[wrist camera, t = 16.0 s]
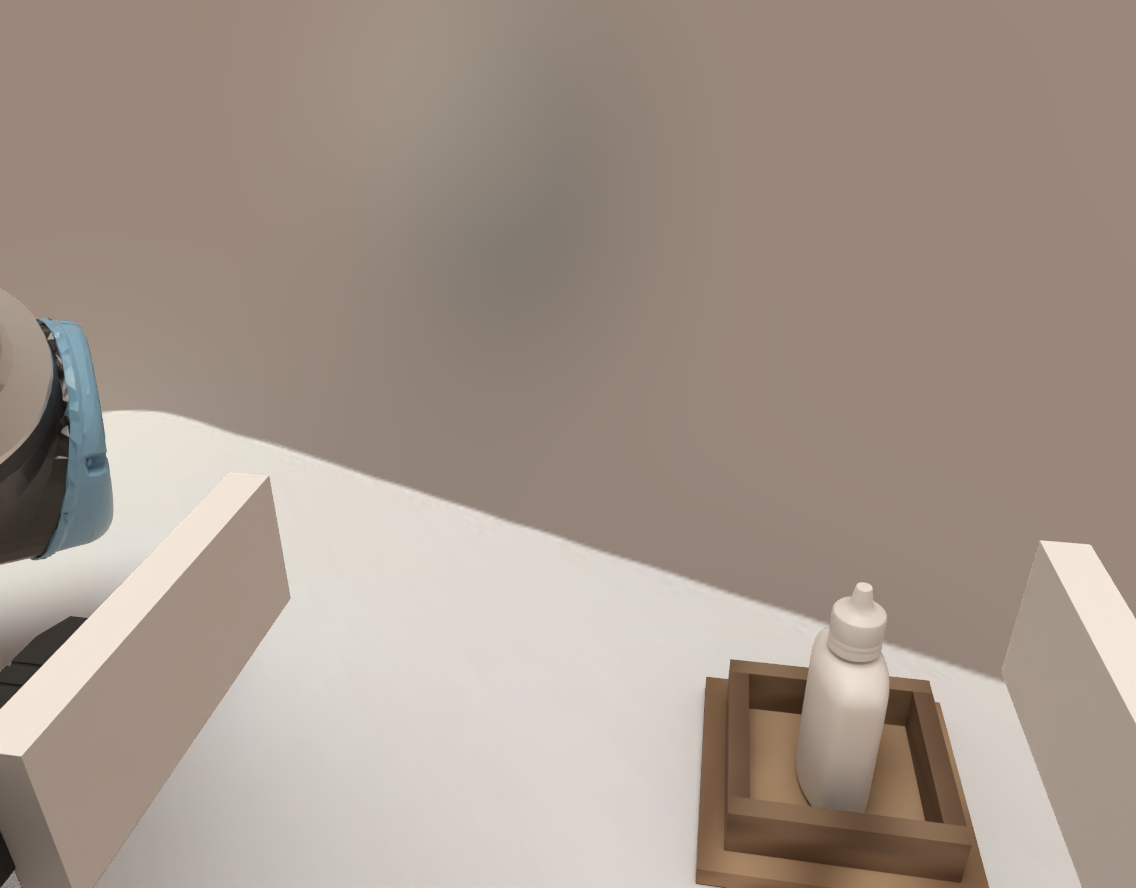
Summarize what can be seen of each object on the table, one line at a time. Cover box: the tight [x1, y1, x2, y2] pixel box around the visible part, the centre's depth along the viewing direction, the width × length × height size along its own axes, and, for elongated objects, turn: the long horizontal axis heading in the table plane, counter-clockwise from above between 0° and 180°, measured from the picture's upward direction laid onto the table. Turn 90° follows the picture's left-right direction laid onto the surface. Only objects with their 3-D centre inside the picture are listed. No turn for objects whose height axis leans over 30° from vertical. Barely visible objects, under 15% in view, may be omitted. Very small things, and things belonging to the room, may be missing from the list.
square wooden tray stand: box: [696, 659, 989, 888], centre depth 47 cm, size 13×13×4 cm
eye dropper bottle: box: [795, 582, 889, 813], centre depth 44 cm, size 4×6×12 cm
